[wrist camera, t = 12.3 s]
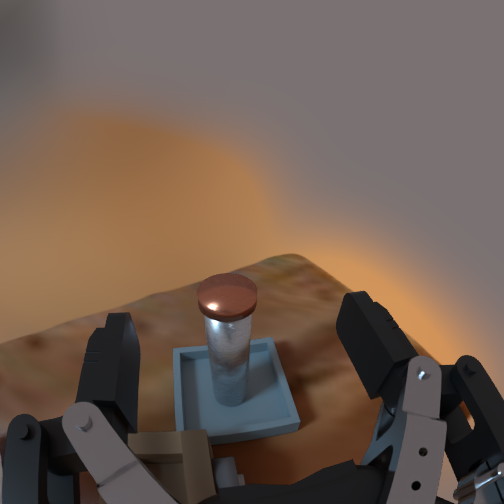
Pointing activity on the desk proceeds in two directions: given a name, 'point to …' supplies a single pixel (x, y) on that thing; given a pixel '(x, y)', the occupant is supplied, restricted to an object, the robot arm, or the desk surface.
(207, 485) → the block
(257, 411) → the tray
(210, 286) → the pin
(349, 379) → the desk surface
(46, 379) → the desk surface
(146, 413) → the desk surface
